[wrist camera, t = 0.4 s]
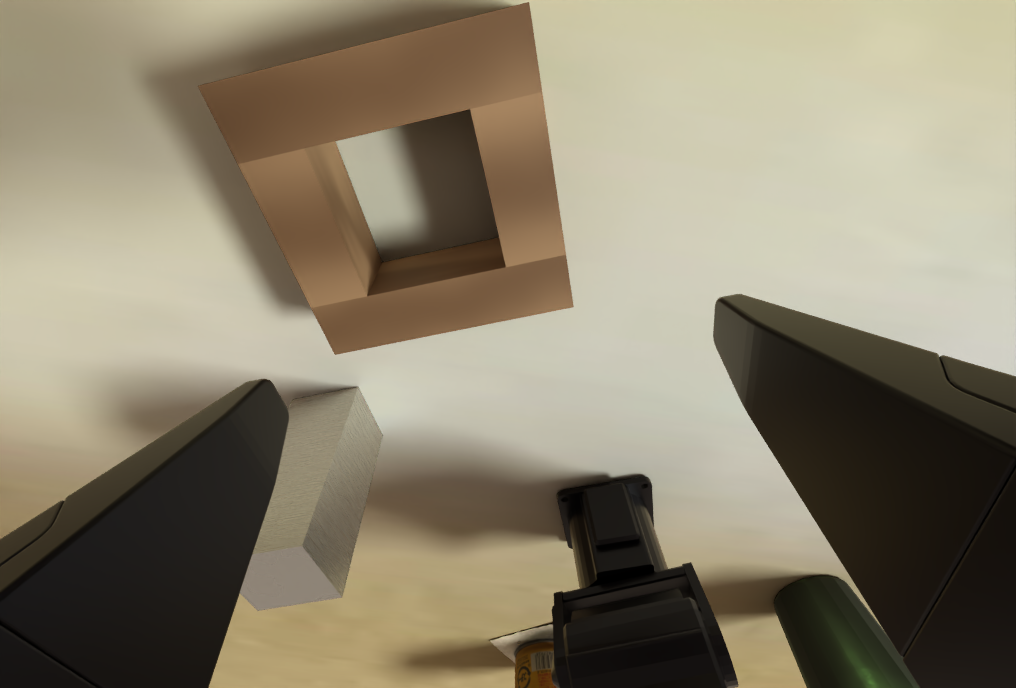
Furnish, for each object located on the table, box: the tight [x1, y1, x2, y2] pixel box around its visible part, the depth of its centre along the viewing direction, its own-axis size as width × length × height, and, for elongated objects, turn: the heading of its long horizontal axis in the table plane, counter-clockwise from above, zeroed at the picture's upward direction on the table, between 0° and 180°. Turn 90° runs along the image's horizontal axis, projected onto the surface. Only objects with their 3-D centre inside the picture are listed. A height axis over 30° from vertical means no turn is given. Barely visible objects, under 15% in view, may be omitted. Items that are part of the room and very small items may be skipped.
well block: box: [198, 2, 573, 355], centre depth 19 cm, size 11×11×4 cm
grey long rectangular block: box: [240, 387, 383, 611], centre depth 24 cm, size 4×4×10 cm
